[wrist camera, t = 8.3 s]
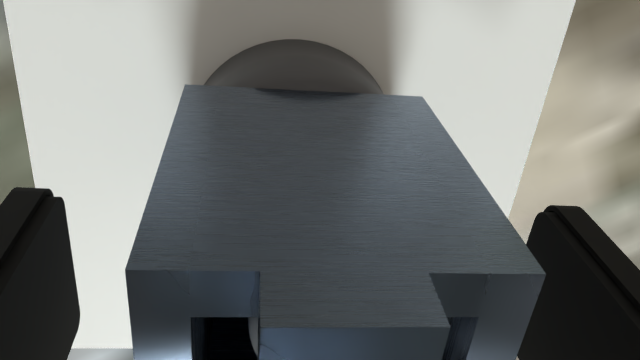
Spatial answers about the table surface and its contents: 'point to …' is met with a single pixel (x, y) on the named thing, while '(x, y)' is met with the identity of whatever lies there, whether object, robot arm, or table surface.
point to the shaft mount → (254, 72)
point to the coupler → (323, 236)
